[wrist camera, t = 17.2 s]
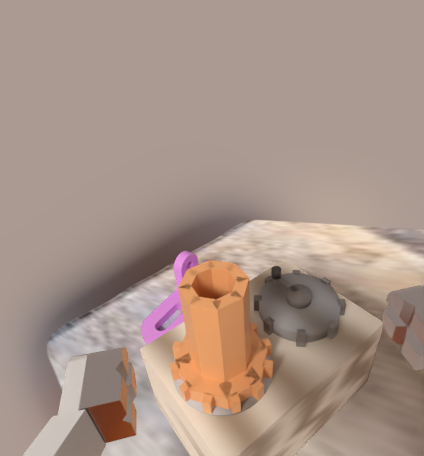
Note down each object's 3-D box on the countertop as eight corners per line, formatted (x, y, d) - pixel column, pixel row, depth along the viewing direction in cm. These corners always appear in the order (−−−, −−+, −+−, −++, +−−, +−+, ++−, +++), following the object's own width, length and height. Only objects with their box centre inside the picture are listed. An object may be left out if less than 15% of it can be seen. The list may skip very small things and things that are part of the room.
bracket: (193, 280, 56) (188, 246, 52) (222, 293, 53) (219, 258, 49) (134, 337, 47) (123, 301, 43) (164, 356, 44) (155, 320, 41)
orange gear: (279, 333, 33) (283, 252, 28) (263, 427, 26) (264, 344, 21) (191, 317, 36) (178, 240, 30) (156, 399, 29) (130, 319, 23)
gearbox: (282, 314, 48) (286, 232, 40) (366, 381, 39) (393, 293, 31) (157, 404, 39) (131, 321, 31) (230, 518, 30) (219, 442, 22)
